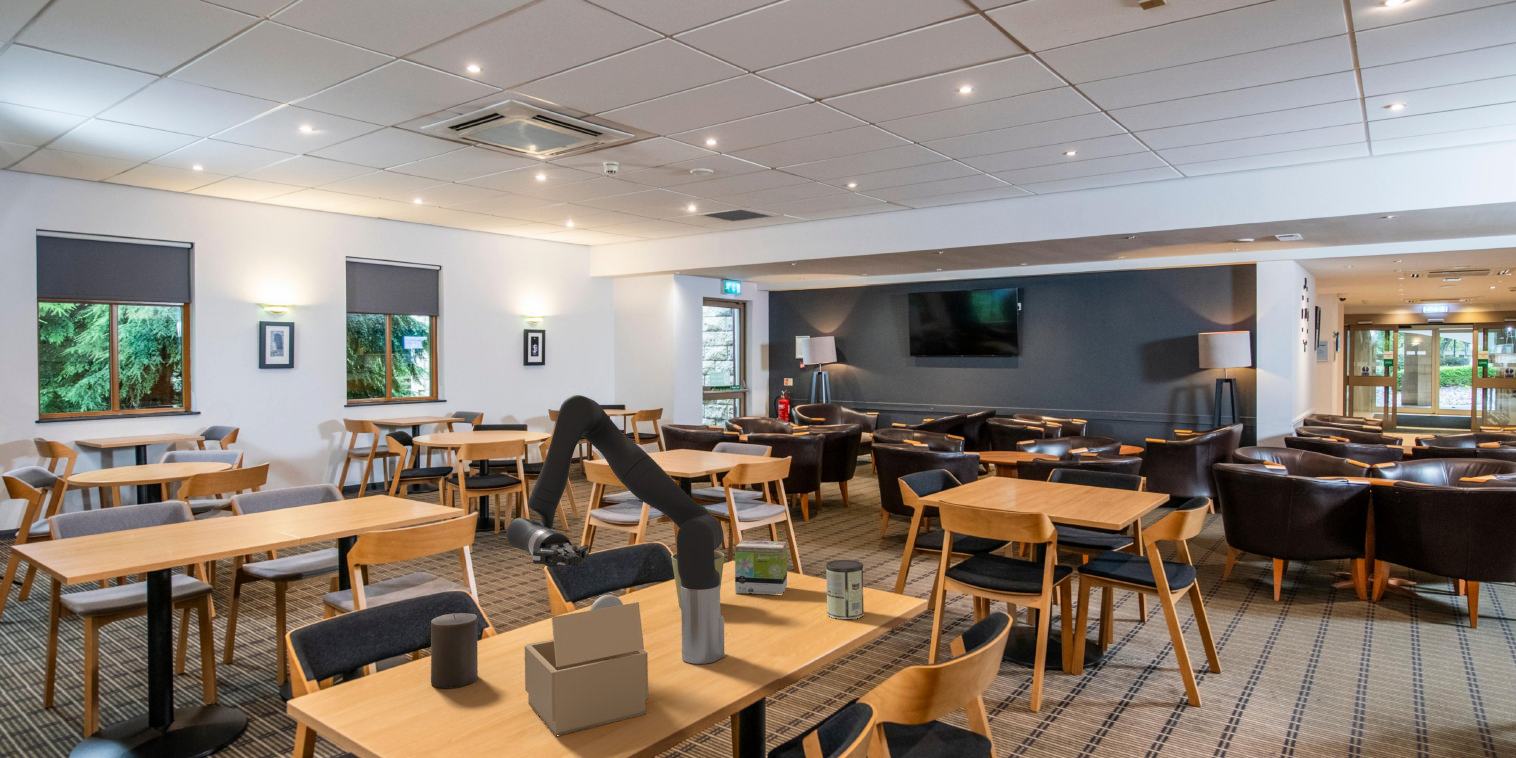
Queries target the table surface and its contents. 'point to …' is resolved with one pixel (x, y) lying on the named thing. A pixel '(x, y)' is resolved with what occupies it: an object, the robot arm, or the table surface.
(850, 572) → the coffee can
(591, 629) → the carton flap
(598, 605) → the donut
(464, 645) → the pillar candle
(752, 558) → the tea box
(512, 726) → the table surface
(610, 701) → the carton
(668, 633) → the table surface
